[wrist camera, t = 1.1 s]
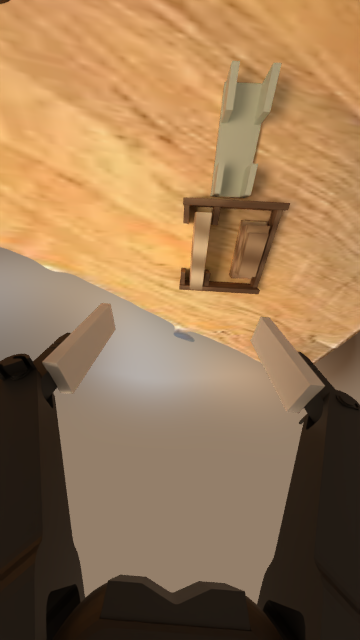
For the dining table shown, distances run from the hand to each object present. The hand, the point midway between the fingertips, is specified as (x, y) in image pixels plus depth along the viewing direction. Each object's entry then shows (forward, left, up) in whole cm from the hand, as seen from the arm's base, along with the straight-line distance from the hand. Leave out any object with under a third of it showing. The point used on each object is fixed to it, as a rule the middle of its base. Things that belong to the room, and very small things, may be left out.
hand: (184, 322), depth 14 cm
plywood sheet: (-1, +3, -36) cm, 37 cm away
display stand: (-20, +9, -36) cm, 43 cm away
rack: (-1, +10, -36) cm, 38 cm away
